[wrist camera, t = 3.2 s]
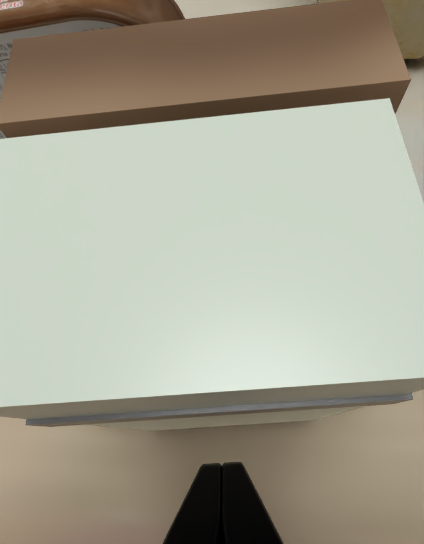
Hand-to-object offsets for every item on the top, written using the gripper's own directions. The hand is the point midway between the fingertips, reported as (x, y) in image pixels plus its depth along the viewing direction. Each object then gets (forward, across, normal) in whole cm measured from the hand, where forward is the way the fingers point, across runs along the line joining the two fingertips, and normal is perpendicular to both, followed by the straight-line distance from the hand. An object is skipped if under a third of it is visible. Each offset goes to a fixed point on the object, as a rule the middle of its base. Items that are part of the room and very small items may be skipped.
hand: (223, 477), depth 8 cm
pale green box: (+7, 0, +2) cm, 7 cm away
